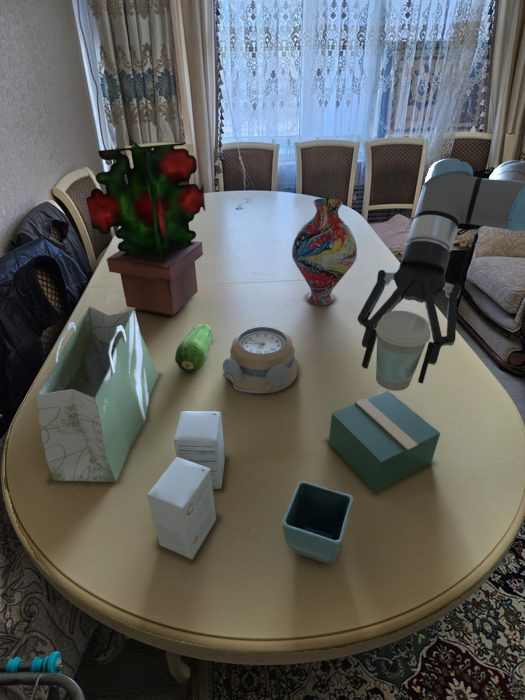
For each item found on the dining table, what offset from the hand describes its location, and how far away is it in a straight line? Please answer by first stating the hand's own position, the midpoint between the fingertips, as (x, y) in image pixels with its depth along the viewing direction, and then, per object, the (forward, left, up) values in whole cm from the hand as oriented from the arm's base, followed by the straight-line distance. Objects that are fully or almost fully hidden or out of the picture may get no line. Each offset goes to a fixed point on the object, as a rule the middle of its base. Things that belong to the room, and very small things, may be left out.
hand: (391, 374), depth 74 cm
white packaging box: (+13, +30, -21) cm, 39 cm away
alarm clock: (+33, +7, -21) cm, 40 cm away
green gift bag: (+36, +41, -21) cm, 59 cm away
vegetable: (+50, +16, -21) cm, 57 cm away
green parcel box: (+1, -2, -21) cm, 21 cm away
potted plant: (+80, +15, -21) cm, 84 cm away
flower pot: (-9, +20, -21) cm, 30 cm away
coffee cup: (+2, -3, -4) cm, 5 cm away
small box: (+3, +37, -21) cm, 43 cm away
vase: (+59, -29, -21) cm, 69 cm away
